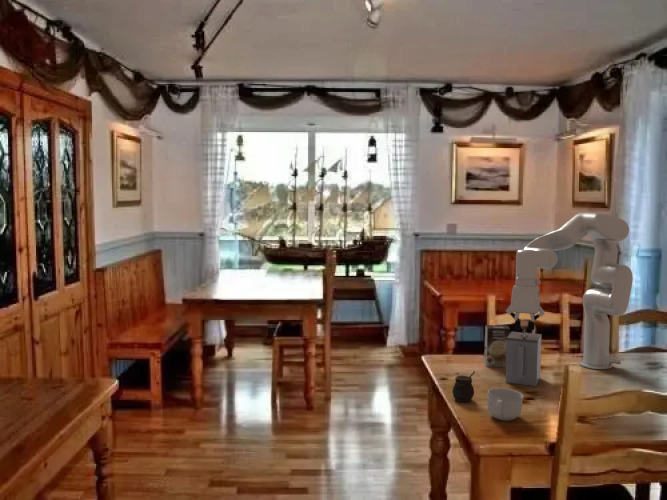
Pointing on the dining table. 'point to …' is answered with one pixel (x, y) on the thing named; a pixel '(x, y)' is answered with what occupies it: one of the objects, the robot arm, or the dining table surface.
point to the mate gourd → (463, 388)
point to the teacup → (504, 403)
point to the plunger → (524, 325)
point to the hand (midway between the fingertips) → (524, 330)
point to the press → (523, 358)
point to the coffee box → (496, 345)
